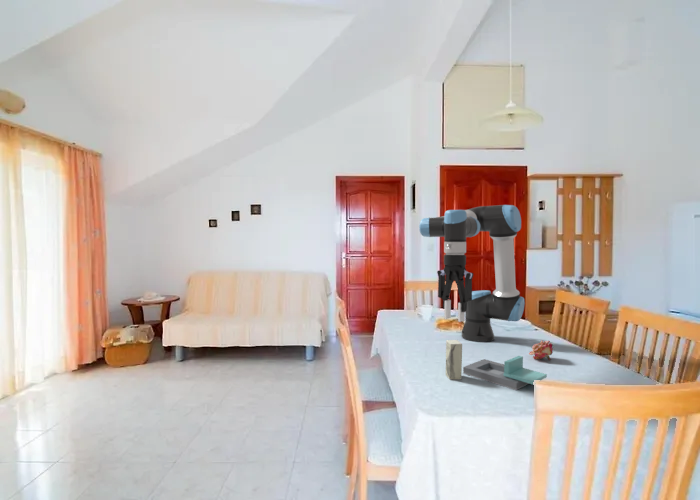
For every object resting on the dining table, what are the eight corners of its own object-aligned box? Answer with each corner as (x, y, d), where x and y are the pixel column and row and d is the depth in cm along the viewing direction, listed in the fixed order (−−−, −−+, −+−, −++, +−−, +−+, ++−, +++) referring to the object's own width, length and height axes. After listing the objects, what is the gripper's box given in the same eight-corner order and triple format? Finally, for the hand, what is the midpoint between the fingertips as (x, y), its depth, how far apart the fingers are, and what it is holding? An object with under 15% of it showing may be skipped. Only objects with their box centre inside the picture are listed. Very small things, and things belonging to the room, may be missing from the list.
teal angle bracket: (503, 375, 133) (503, 361, 132) (517, 369, 139) (518, 355, 139) (532, 384, 125) (533, 369, 125) (546, 377, 131) (546, 362, 131)
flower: (557, 354, 160) (545, 336, 163) (562, 355, 152) (548, 337, 154) (536, 365, 162) (524, 348, 164) (539, 368, 153) (527, 350, 156)
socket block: (463, 373, 143) (463, 367, 142) (484, 365, 152) (484, 359, 151) (516, 390, 127) (516, 382, 127) (535, 379, 136) (536, 373, 136)
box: (445, 374, 141) (445, 339, 141) (456, 374, 141) (457, 339, 141) (450, 380, 136) (450, 343, 135) (462, 379, 136) (462, 343, 136)
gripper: (427, 253, 141) (427, 316, 142) (471, 255, 128) (470, 325, 128) (440, 252, 146) (439, 314, 147) (484, 254, 132) (483, 322, 133)
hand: (454, 319), depth 138 cm, fingers open, 5 cm apart
